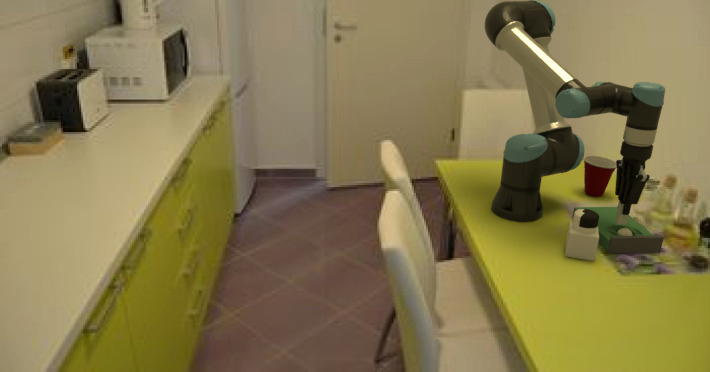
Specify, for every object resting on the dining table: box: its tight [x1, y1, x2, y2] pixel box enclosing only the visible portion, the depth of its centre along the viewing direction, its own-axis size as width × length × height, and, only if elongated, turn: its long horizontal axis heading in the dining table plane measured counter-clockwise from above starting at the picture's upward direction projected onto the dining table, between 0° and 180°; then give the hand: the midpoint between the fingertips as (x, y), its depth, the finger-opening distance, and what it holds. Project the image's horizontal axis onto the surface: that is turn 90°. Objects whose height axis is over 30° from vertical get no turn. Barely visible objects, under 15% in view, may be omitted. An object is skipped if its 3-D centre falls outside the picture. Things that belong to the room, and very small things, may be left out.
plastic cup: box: [583, 154, 617, 198], centre depth 188 cm, size 11×11×12 cm
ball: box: [617, 228, 632, 236], centre depth 157 cm, size 4×4×4 cm
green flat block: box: [572, 206, 664, 254], centre depth 163 cm, size 14×23×4 cm, turn 4°
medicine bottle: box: [565, 209, 599, 262], centre depth 150 cm, size 7×7×12 cm
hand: (620, 223), depth 160 cm, fingers closed
